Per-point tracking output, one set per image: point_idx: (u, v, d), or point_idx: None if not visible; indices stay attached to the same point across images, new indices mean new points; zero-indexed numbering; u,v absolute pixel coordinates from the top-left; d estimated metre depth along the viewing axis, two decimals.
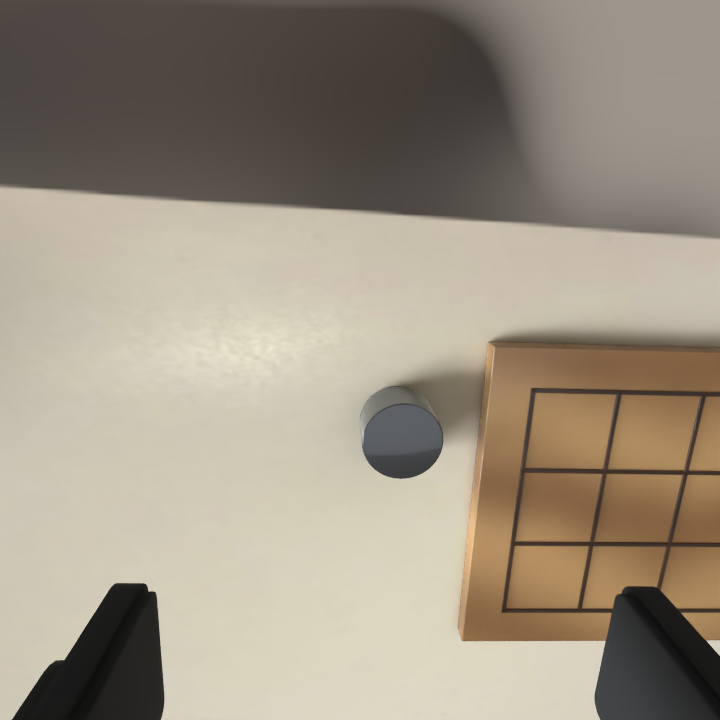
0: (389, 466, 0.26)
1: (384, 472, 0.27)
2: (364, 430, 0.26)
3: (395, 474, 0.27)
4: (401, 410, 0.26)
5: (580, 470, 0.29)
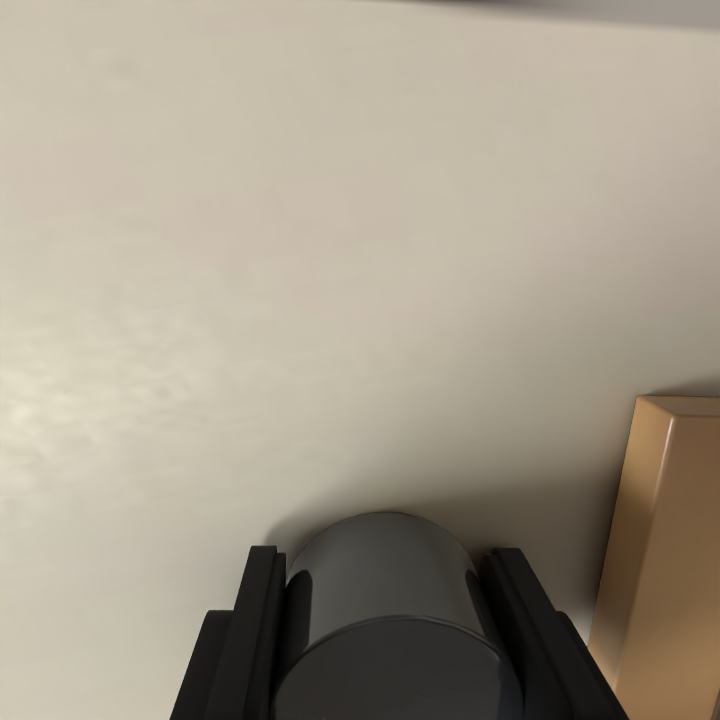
0: None
1: None
2: (272, 692, 0.08)
3: None
4: (392, 637, 0.08)
5: None
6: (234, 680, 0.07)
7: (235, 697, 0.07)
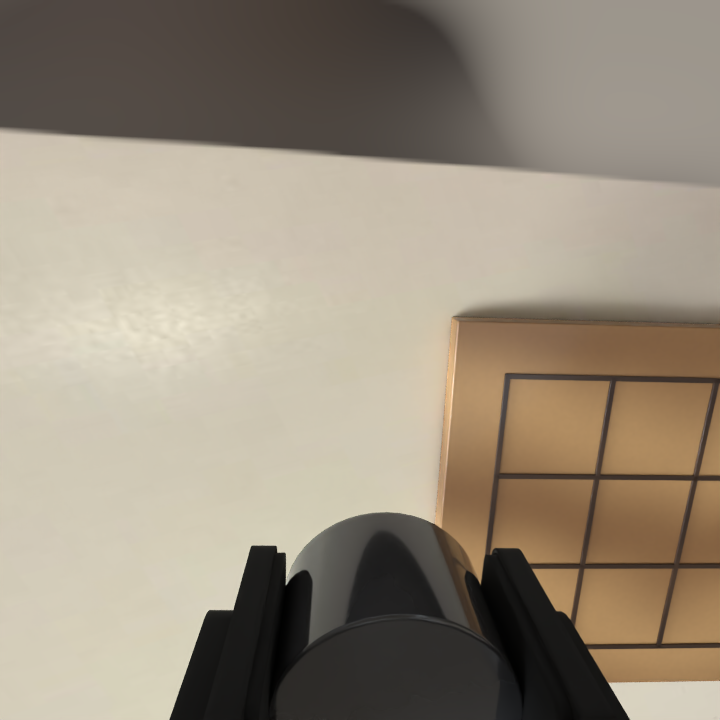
0: None
1: None
2: (272, 692, 0.08)
3: None
4: (391, 636, 0.08)
5: (566, 475, 0.24)
6: (234, 680, 0.07)
7: (235, 697, 0.07)
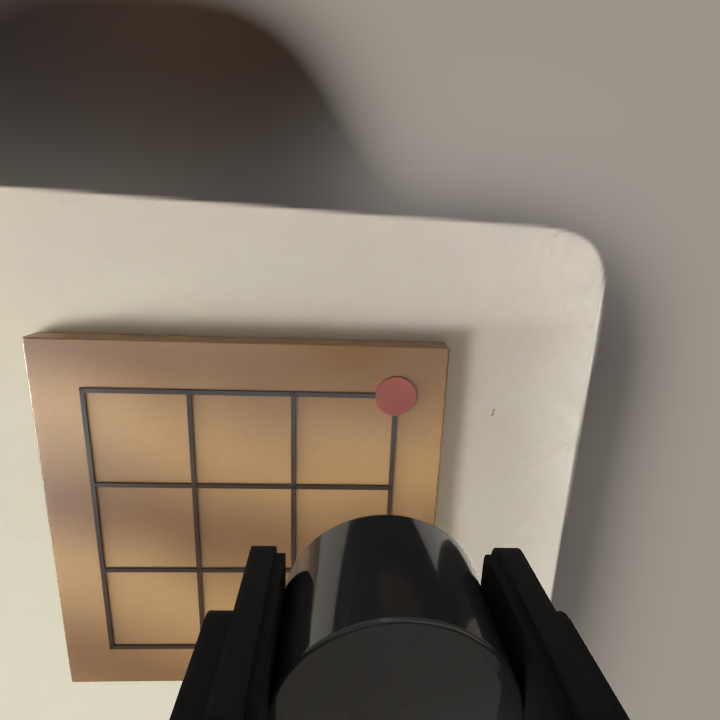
0: None
1: None
2: (272, 695, 0.08)
3: None
4: (392, 639, 0.08)
5: (164, 483, 0.25)
6: (234, 680, 0.07)
7: (235, 697, 0.07)
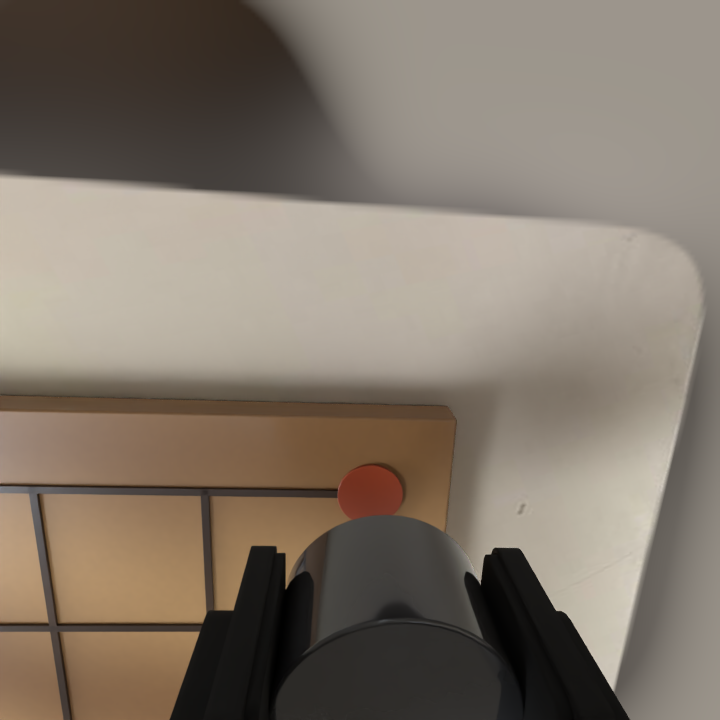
0: None
1: None
2: (272, 695, 0.08)
3: None
4: (392, 640, 0.08)
5: (7, 624, 0.16)
6: (234, 680, 0.07)
7: (235, 697, 0.07)
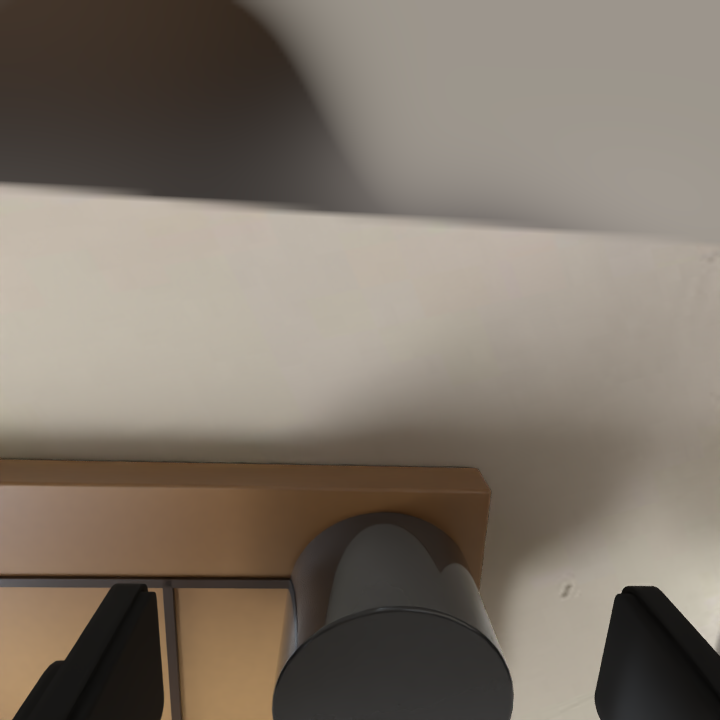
0: None
1: None
2: (278, 679, 0.09)
3: None
4: (389, 627, 0.08)
5: None
6: None
7: None
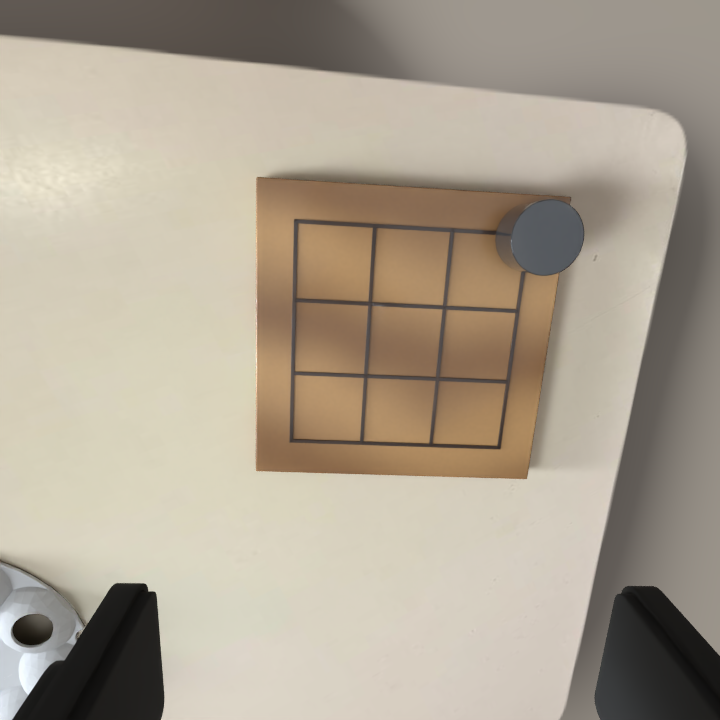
0: (533, 262, 0.29)
1: (528, 268, 0.29)
2: (513, 225, 0.28)
3: (538, 271, 0.29)
4: (549, 205, 0.28)
5: (347, 301, 0.32)
6: None
7: None
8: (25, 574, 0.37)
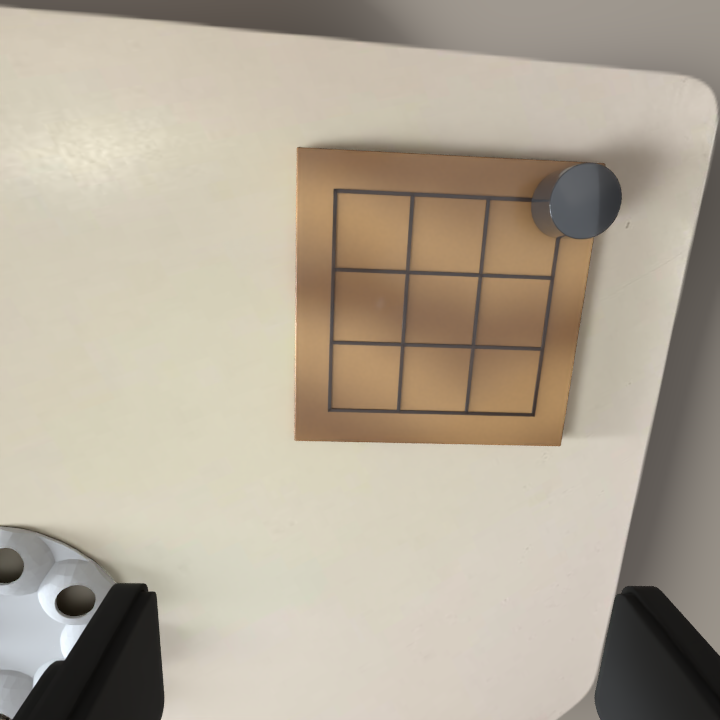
0: (571, 226, 0.29)
1: (566, 232, 0.29)
2: (552, 189, 0.29)
3: (576, 234, 0.30)
4: (587, 169, 0.29)
5: (385, 270, 0.33)
6: None
7: None
8: (67, 547, 0.38)
